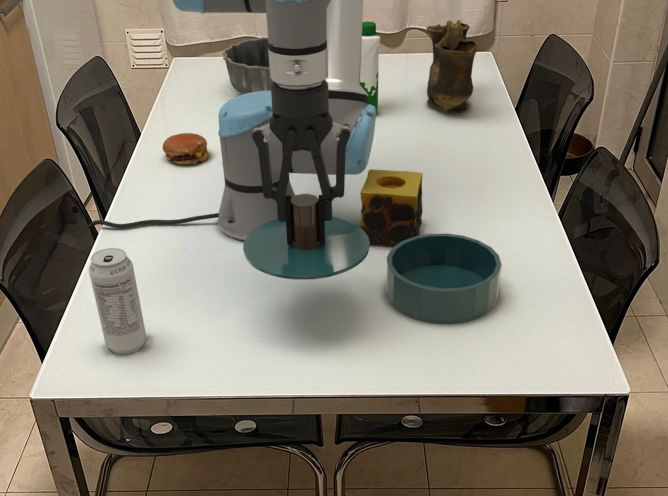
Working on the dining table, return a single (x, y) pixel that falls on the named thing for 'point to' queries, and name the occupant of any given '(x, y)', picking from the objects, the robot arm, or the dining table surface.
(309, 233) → the lid
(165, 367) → the dining table surface
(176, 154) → the burger
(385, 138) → the dining table surface
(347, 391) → the dining table surface
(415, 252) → the pot
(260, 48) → the bundt pan
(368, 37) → the milk carton
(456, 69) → the pottery vessel
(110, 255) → the energy drink can
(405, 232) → the candle
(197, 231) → the dining table surface
